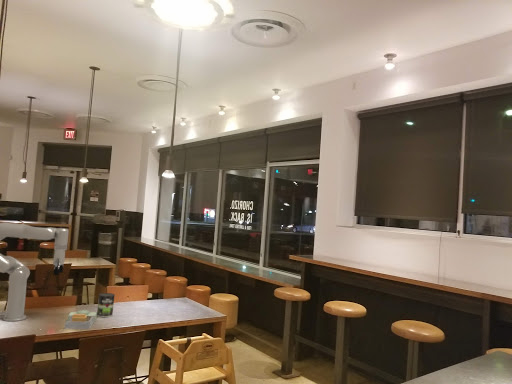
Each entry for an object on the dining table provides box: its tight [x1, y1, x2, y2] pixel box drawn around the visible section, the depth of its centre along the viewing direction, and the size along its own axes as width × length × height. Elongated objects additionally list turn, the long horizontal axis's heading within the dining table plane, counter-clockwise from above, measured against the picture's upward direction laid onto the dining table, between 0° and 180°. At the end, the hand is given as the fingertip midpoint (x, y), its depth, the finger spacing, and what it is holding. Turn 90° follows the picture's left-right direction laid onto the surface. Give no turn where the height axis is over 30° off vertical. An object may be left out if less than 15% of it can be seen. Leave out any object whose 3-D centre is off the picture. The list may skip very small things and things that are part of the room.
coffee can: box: [96, 292, 116, 318], centre depth 272 cm, size 10×10×14 cm
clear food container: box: [66, 309, 98, 322], centre depth 258 cm, size 16×9×5 cm, turn 103°
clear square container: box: [64, 315, 94, 330], centre depth 247 cm, size 14×14×4 cm
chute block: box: [72, 314, 87, 321], centre depth 247 cm, size 8×5×6 cm, turn 105°
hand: (58, 273), depth 260 cm, fingers open, 9 cm apart
